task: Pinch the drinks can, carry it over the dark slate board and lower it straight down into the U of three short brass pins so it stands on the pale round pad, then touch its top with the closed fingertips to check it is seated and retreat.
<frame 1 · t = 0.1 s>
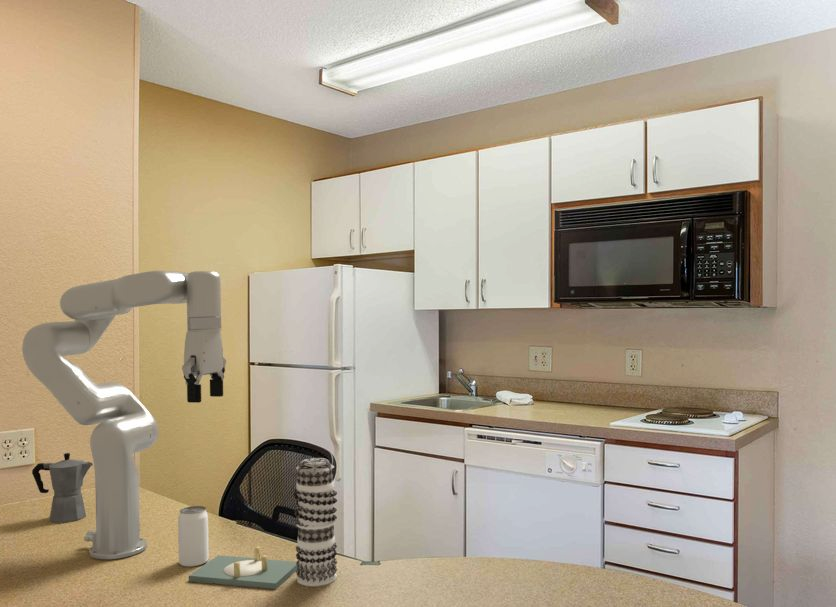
hand: (205, 399, 160), 37 cm above the table, tool pointing down, fingers open, 9 cm apart
coffeepot: (63, 519, 192), on the table
header board: (245, 574, 150), on the table
can: (193, 563, 157), on the table
decorative candle: (316, 579, 147), on the table
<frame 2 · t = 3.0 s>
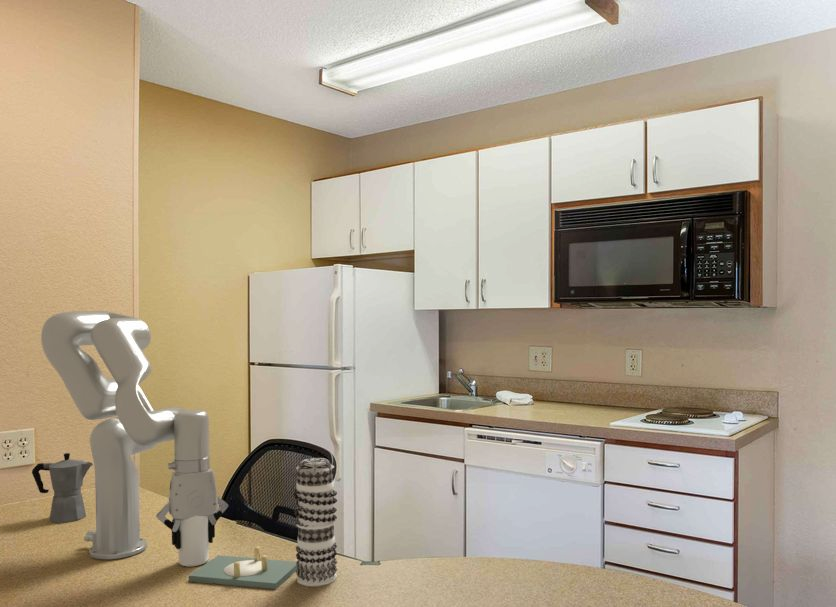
hand: (193, 543, 157), 4 cm above the table, tool pointing down, fingers closed on can, 6 cm apart
can: (193, 563, 157), on the table, touching gripper
everything else where it was.
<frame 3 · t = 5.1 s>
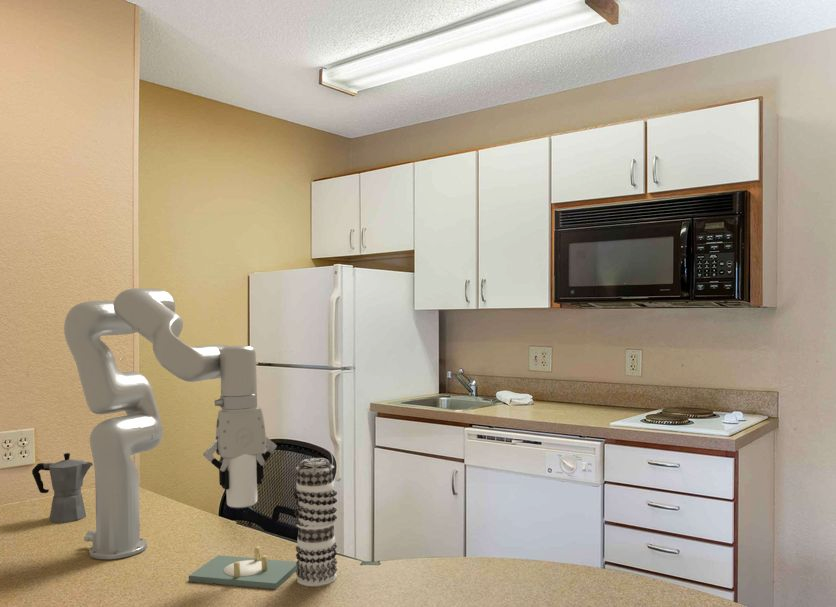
hand: (241, 485, 150), 19 cm above the table, tool pointing down, fingers closed on can, 6 cm apart
can: (242, 505, 150), point 15 cm above the table, touching gripper
everything else where it was.
when the fingers open (6 cm above the table, at t = 7.2 s): can stays where it is, resting on header board.
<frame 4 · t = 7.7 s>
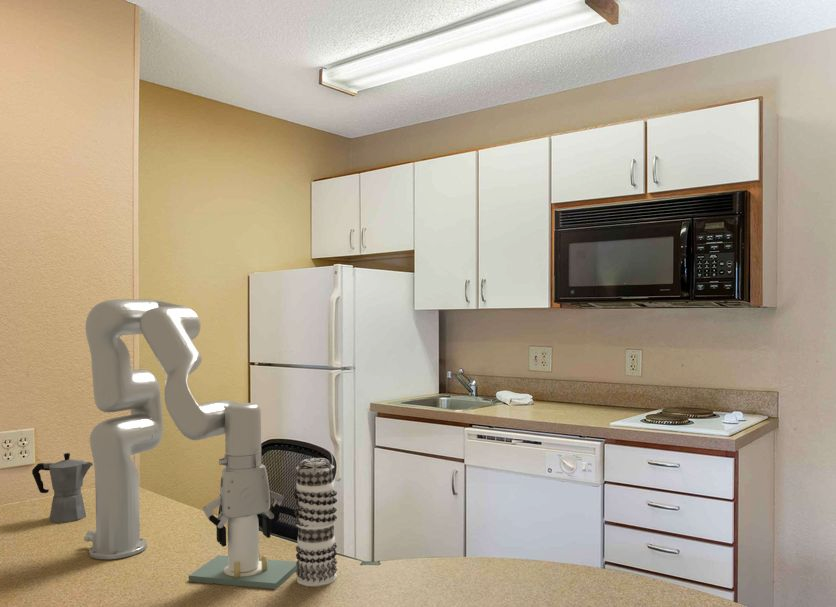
hand: (244, 540, 150), 7 cm above the table, tool pointing down, fingers open, 9 cm apart
can: (243, 568, 150), point 1 cm above the table, touching header board
everything else where it was.
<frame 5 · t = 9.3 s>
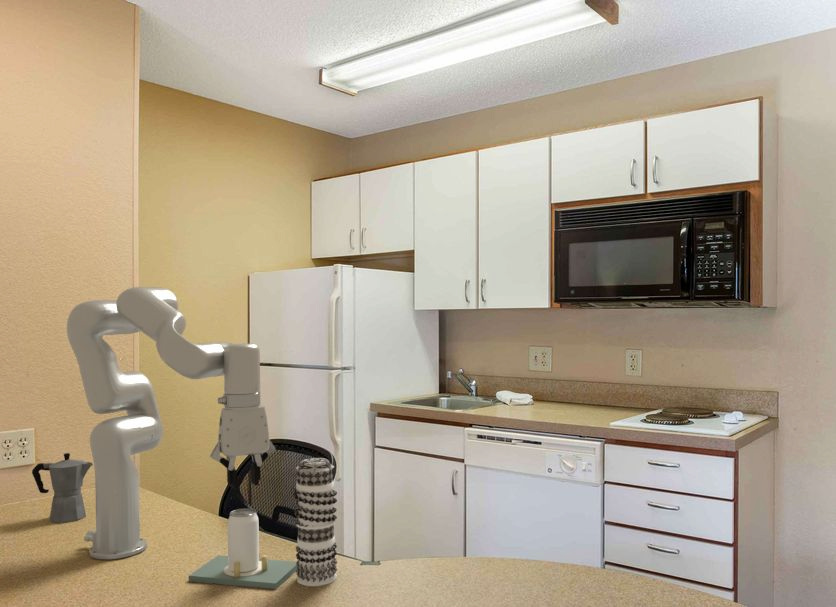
hand: (244, 484, 150), 19 cm above the table, tool pointing down, fingers open, 4 cm apart
nothing on the table moved.
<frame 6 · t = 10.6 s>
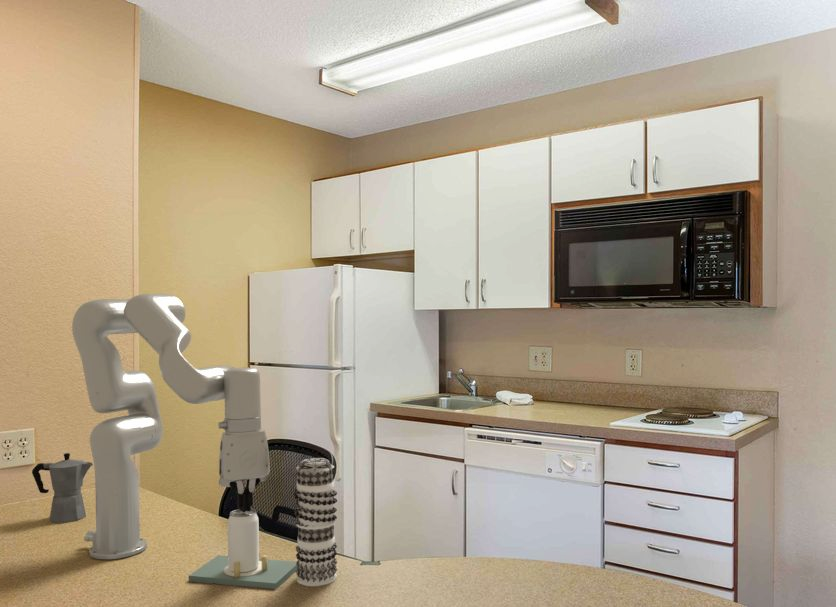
hand: (244, 510, 150), 14 cm above the table, tool pointing down, fingers closed
nothing on the table moved.
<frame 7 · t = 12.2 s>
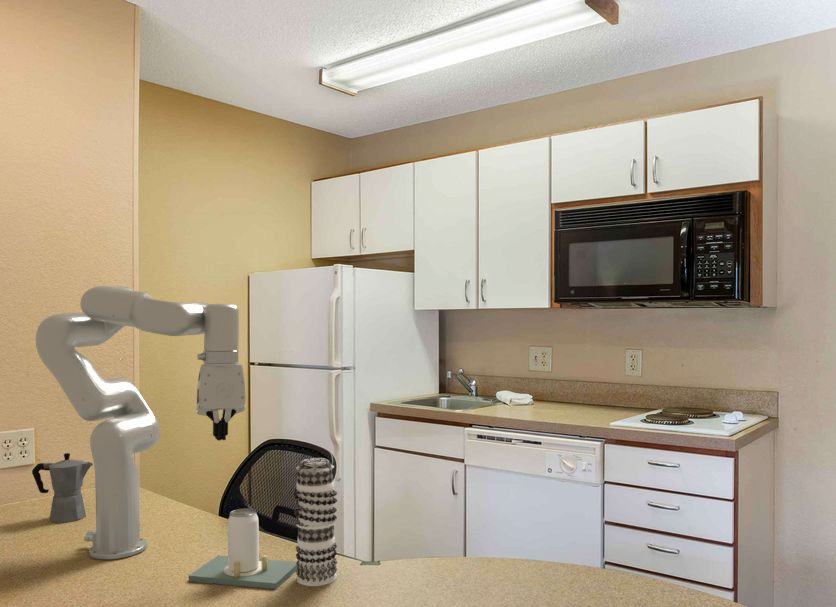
hand: (220, 439, 157), 28 cm above the table, tool pointing down, fingers closed
nothing on the table moved.
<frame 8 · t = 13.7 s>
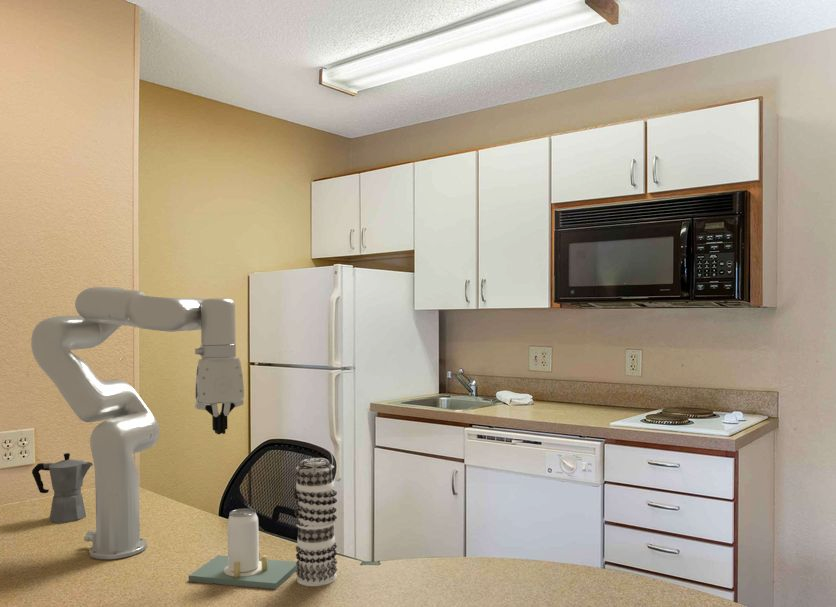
hand: (220, 433, 158), 29 cm above the table, tool pointing down, fingers closed
nothing on the table moved.
at the end: can 0.3 cm off-centre on the header board, point 1.2 cm above the header board's base; can tilted 0°; the gripper is holding nothing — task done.
